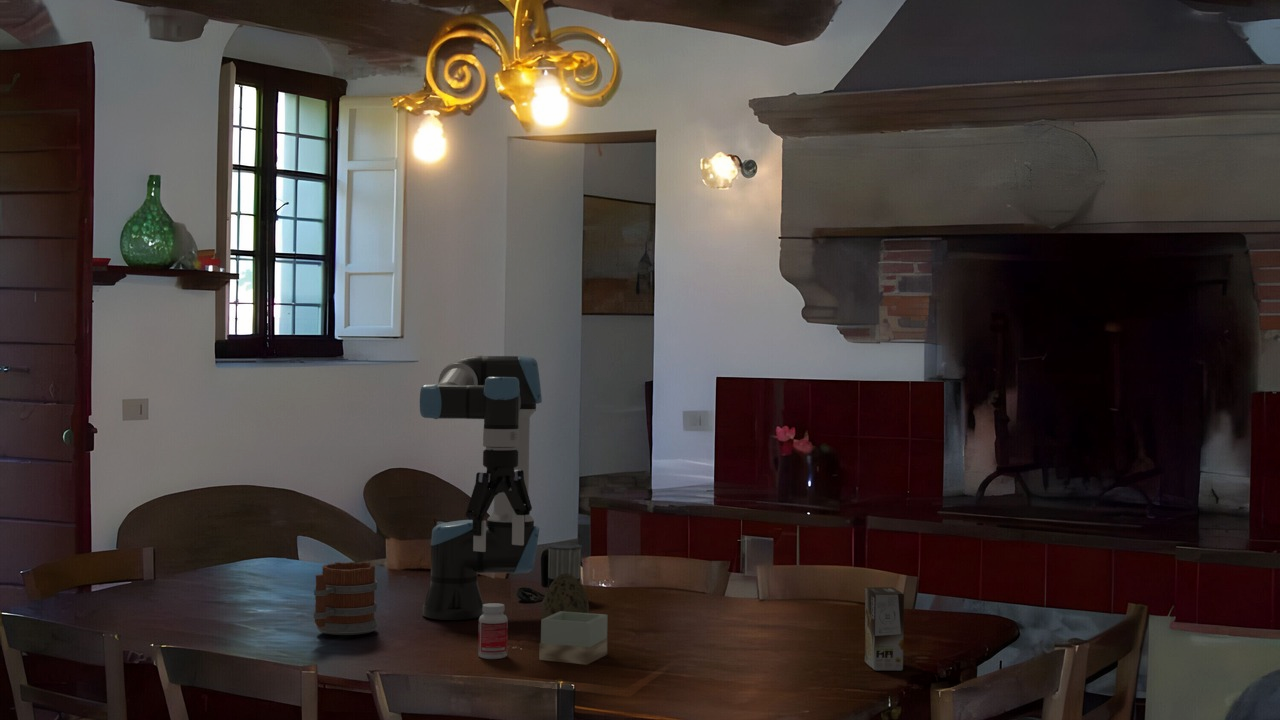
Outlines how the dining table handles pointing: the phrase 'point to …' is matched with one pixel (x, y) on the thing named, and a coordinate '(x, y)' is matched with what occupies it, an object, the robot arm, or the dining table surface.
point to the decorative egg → (565, 596)
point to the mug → (346, 599)
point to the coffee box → (884, 628)
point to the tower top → (574, 629)
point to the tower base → (572, 653)
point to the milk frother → (554, 567)
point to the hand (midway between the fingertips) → (499, 548)
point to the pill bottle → (493, 632)
